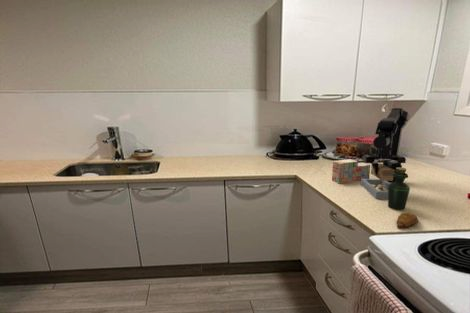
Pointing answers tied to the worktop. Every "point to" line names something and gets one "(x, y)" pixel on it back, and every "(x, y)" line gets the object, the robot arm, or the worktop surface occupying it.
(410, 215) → the croissant
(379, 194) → the frame
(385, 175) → the board
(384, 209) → the worktop surface
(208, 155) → the worktop surface
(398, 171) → the potion bottle
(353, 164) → the stack of blocks
